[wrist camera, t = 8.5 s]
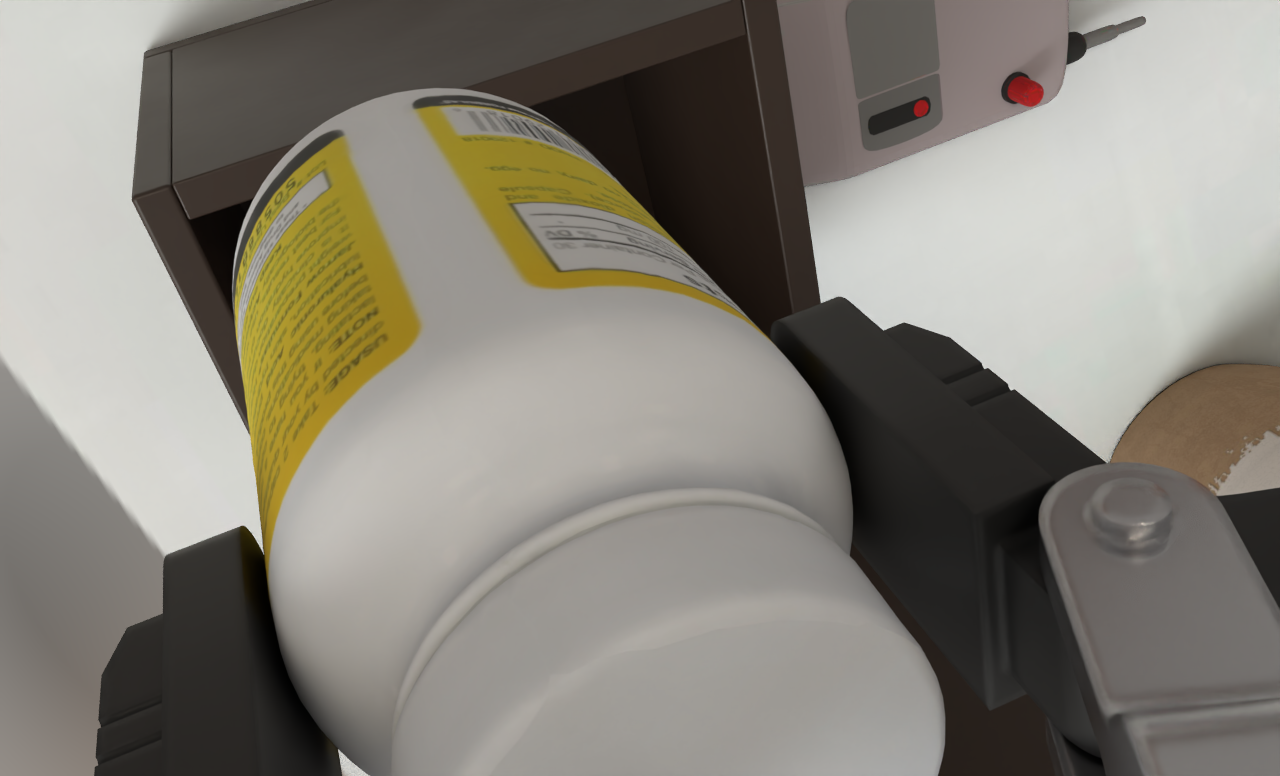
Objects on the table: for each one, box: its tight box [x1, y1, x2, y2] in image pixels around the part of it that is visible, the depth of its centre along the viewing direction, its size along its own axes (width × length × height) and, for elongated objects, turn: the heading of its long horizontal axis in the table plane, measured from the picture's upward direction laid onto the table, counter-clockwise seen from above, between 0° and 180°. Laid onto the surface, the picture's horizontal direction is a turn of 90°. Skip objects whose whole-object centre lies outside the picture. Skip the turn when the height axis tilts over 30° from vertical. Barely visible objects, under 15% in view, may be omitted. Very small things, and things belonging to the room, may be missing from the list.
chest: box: [132, 0, 821, 435], centre depth 32 cm, size 14×14×12 cm
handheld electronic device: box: [777, 0, 1146, 187], centre depth 38 cm, size 7×16×3 cm, turn 104°
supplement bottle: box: [232, 88, 945, 776], centre depth 12 cm, size 5×5×10 cm
